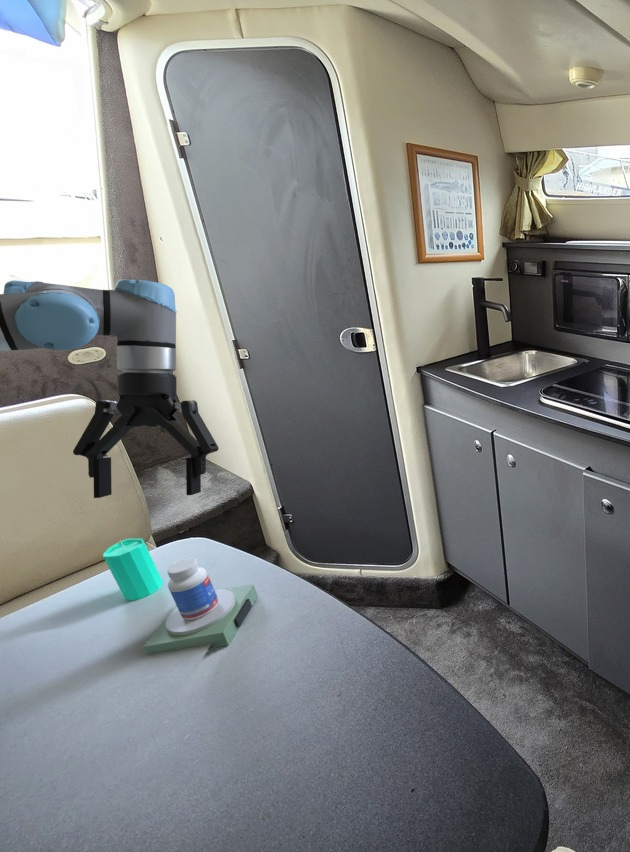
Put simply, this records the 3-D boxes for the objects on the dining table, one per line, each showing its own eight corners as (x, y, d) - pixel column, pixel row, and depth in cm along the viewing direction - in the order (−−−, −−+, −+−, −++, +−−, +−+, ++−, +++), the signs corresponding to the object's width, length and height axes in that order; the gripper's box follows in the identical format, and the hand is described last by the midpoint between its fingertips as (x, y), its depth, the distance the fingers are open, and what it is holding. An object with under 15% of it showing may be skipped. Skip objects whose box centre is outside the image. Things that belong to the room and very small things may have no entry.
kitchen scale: (149, 659, 83) (141, 643, 82) (189, 607, 94) (182, 592, 93) (231, 645, 85) (224, 628, 84) (260, 595, 96) (254, 580, 95)
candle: (145, 600, 96) (120, 550, 92) (115, 600, 97) (89, 551, 92) (170, 578, 102) (148, 530, 97) (142, 579, 102) (119, 531, 98)
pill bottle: (222, 608, 88) (204, 564, 85) (185, 626, 85) (164, 581, 81) (215, 593, 92) (197, 551, 88) (179, 610, 88) (159, 566, 85)
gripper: (240, 374, 91) (240, 488, 91) (80, 372, 86) (81, 493, 87) (217, 372, 84) (218, 497, 84) (40, 370, 79) (42, 502, 79)
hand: (149, 495), depth 85 cm, fingers open, 13 cm apart
